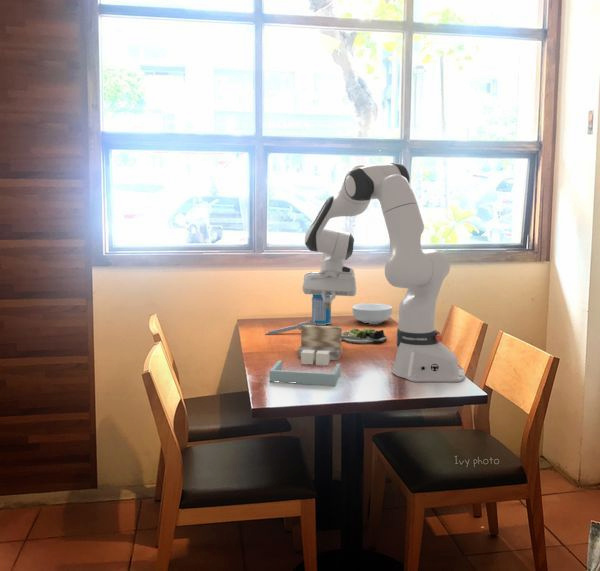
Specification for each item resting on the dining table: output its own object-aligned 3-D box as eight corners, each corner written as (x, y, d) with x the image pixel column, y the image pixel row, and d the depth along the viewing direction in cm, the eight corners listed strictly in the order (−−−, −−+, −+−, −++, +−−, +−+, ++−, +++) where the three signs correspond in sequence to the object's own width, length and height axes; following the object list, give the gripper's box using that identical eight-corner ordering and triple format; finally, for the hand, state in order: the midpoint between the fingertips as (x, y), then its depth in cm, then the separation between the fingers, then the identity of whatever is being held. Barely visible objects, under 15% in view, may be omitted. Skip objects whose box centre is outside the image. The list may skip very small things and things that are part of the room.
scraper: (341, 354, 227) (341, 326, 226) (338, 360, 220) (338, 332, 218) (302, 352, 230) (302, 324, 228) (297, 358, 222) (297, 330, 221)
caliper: (315, 332, 260) (315, 317, 259) (316, 333, 259) (316, 318, 258) (265, 334, 257) (265, 319, 256) (265, 335, 256) (265, 319, 255)
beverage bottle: (314, 326, 271) (314, 279, 267) (309, 321, 279) (309, 276, 275) (333, 325, 273) (334, 278, 269) (328, 320, 281) (328, 275, 278)
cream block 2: (329, 362, 217) (329, 351, 217) (327, 365, 213) (327, 354, 213) (317, 361, 218) (317, 350, 217) (315, 365, 214) (315, 353, 213)
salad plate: (339, 346, 239) (339, 334, 239) (332, 335, 257) (332, 323, 256) (390, 345, 241) (390, 333, 240) (380, 333, 259) (380, 322, 258)
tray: (340, 374, 203) (340, 363, 203) (334, 386, 192) (335, 374, 191) (278, 370, 207) (278, 360, 207) (269, 381, 196) (269, 370, 195)
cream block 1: (314, 361, 218) (314, 350, 217) (312, 364, 214) (312, 353, 214) (303, 361, 219) (303, 349, 218) (300, 364, 215) (300, 352, 214)
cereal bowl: (387, 318, 287) (387, 302, 286) (395, 326, 270) (395, 309, 269) (349, 318, 286) (349, 302, 285) (355, 327, 269) (355, 310, 268)
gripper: (303, 267, 246) (298, 297, 238) (357, 269, 242) (353, 299, 234) (305, 277, 251) (300, 306, 243) (358, 279, 247) (354, 309, 240)
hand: (327, 303), depth 239 cm, fingers closed
